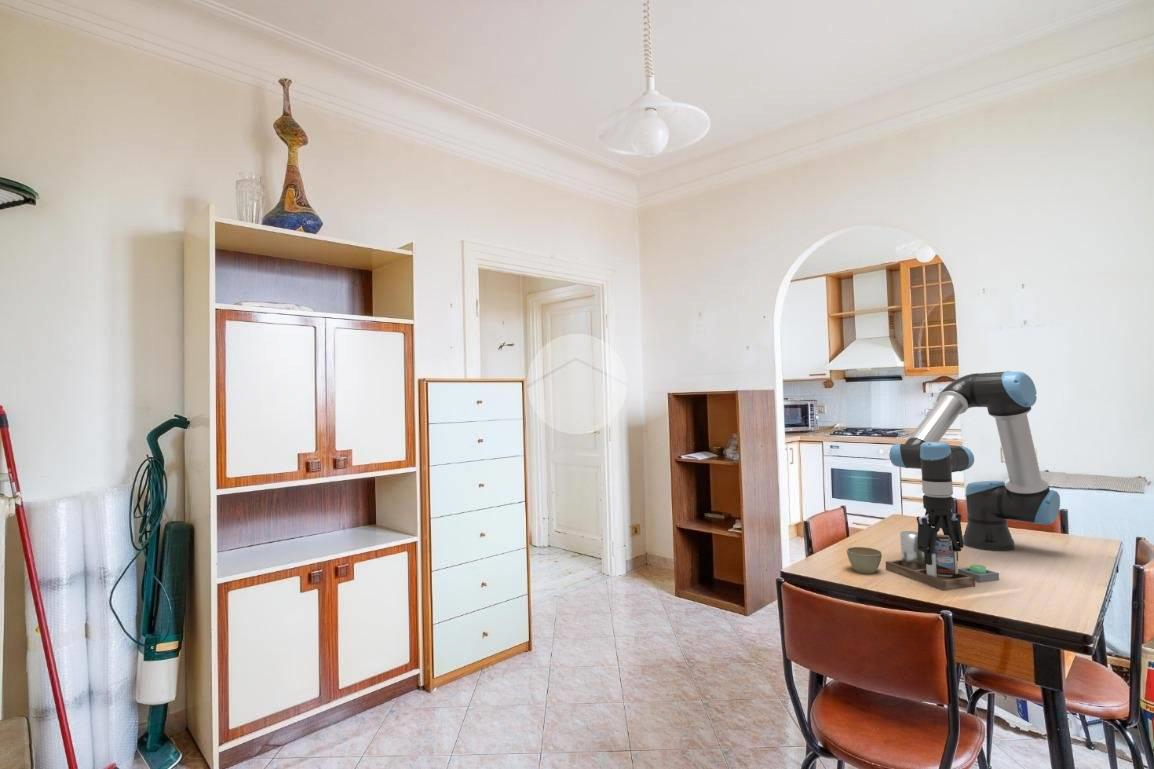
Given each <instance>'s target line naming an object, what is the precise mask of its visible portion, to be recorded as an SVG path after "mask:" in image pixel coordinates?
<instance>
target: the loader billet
mask: <svg viewBox="0 0 1154 769" xmlns="http://www.w3.org/2000/svg"><path fill="white" fill-rule="evenodd" d="M899 536H900V556H901V560H902V566H903V567H906V568H909V569H912V570H919V569H926V564H925V558H924V552H922V551H919V550H918V549H917V544H918V531H913V530H903V531H900V534H899Z"/></svg>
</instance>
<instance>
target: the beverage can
mask: <svg viewBox="0 0 1154 769" xmlns="http://www.w3.org/2000/svg"><path fill="white" fill-rule="evenodd" d="M928 549H929V548H928ZM933 554H935V555H936V572H937V576H944V577H951V576H952V575H954V574H955V569H954V558H953V548H952V540H951V539H950V537H949V535H944V534H939V533H937V537H936V541H935V545H934V550H933Z"/></svg>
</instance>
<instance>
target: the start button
mask: <svg viewBox="0 0 1154 769" xmlns="http://www.w3.org/2000/svg"><path fill="white" fill-rule="evenodd" d="M969 567H970V571H971V572H974V573H977V574H983V573H986V569H987V567H986V566H984V565H979V564H970V565H969Z"/></svg>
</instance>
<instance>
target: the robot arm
mask: <svg viewBox="0 0 1154 769" xmlns="http://www.w3.org/2000/svg"><path fill="white" fill-rule="evenodd" d="M1036 401H1037V389H1036V385H1035V383H1034V380H1033V379H1032V378H1031V376H1030V375H1028V374H1027V373H1025V372H1024V371H1011V370H1010V371H1009V370H1007V371H996V372H982V373H969V374H967V375H963V376H960V377H959V378H957V379H955V380H954V381H953V382H950V383H949V384H948V385H947V386H946V387H944V389H942V390H941V392H940V393H939V394H938V395H937V398H936V403H935V404H934V405H933V407H932V408H931V410H930V411H929V412H928V413H927V414H926V415H925V417H924V418H923V419H922V421H921V422H920V423H919V425H917V427H916V428H915V430H914V431H913V432H912V434H911V435H910V436H909V437H908V439H907V440H906V441H905V442H904V443H898V444H897V443H896V444H893V445H892V446H891V447H890V448H889V456H888V457H889V460H890V462H891V464H892V465H893V466H895V467H898V468H905V469H918V470H921V485H922V486H921V487H922V488H921V489H922V493H923V494H924V495H923V496H922V502H923V503H922V506H923V508H924V509H925V513H924V515H923V516H916V523H917V532H918V544H917V549H918V550H919V551H922V552H924V558H925V564H926V570H927V575H930V576H933V577H937V572H936V555H935V554H933V550H934V545H935V541H936V537H937V534H938V533H939V531H940V530H942V535H949V537H950V539H951V540H952V548H953V558H954V569H955V574H958V569H959V568H958V562H959V552H962V549H963V548H964V547H965V546H966V547H967V546H968V547H972V548H974V549H978V550H979V549H980V550H988V551H1011V550H1014V549H1015V548H1016V547H1015V540H1014V538H1013V536H1012V534H1011V532H1010V529H1009V526H1008V521H1009V520H1010V521H1017V522H1023V523H1030V524H1035V525H1038V524H1039V525H1051V524H1053V523H1054V522H1055V521H1056V520H1057V518H1058V516H1059V512H1060V507H1061V496H1060V493H1059V492H1058V491H1057V490H1055V489H1054V490H1053V489H1051V490H1050V486H1049V483H1048V481H1047V480H1045V479H1043V478H1042V476H1041V470H1040V466H1039V463H1038V458H1037V454H1036V449H1035V446H1034V441H1033V436H1032V431H1031V427H1030V422H1029V418H1028V414H1029V413H1030V411H1032V407H1033V406H1034V405H1035V404H1036ZM971 408H986V409H987V413H988V415H989V416H991V417H992V418H994V419H995V423H996V427H997V432H998V433H997V434H998V435H999V440H1000V445H1001V450H1002V453H1003V457H1004V462H1005V466H1006V470H1007V474H1008V482H1007V483H1005V481H1003V480H1002V481H1001V480H985V481H984V480H983V481H975V482H969V483H968V484H966V486H965V500H966V501H965V504H966V514H967V516H966V517H967V523H966V526H965V531H964V534H963V531H962V524H961V521H962V515H961V514H959V513H954V512H953V511H952V510H954V507H955V506H954V497H953V496H952V495H954V490H953V489H954V488H953V486H954V485H953V479H952V477H953V475H952V474H953V473H956V472H957V473H958V472H964V471H966V470H968V469H970V468H972V467H973V465H974V463H975V456H974V453H973V452H972V451H971V449H969V448H968V447H967V446H963V445H952V446H950V444H949V443H948V442H945V441H944V442H943V441H941V439H942V438H943V436H944V435H945V434H946V432H947V431H948V430H949V429H950V428H951V426H952V425H953V424H954V422H955V421H956V420H957V418H958V417H959V415H962V414H964V413H966V411H967V410H968V409H971ZM928 548H929V549H928Z"/></svg>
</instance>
